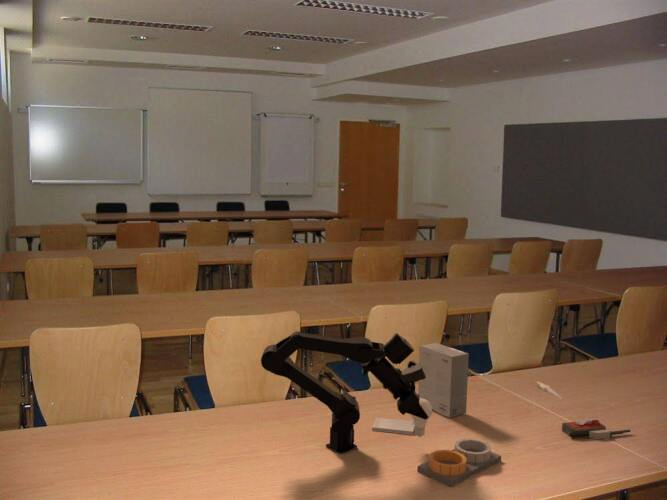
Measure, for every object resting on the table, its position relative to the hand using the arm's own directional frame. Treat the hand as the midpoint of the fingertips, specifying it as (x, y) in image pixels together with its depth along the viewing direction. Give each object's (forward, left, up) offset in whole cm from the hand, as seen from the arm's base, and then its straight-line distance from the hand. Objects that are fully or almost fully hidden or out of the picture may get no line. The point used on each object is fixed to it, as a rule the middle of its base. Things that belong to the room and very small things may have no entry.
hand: (425, 413), depth 192 cm
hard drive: (+5, +16, -11) cm, 20 cm away
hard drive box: (+28, +16, -11) cm, 34 cm away
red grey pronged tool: (+48, -26, -11) cm, 56 cm away
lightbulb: (-1, +1, -7) cm, 7 cm away
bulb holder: (-1, -13, -10) cm, 17 cm away
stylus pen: (+69, +1, -11) cm, 70 cm away
